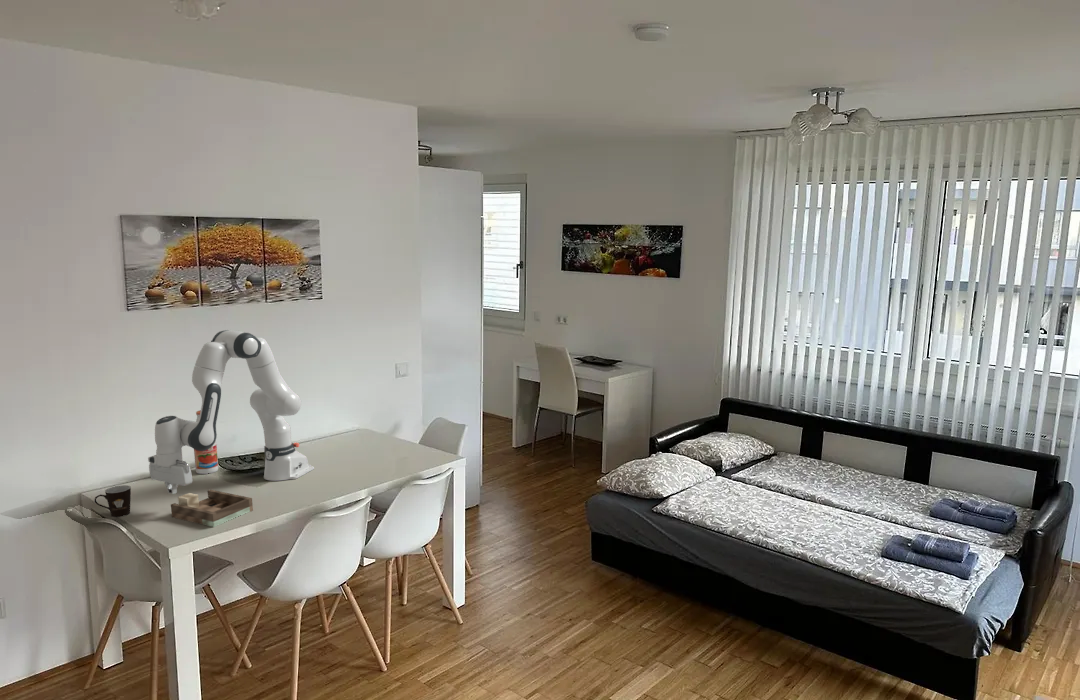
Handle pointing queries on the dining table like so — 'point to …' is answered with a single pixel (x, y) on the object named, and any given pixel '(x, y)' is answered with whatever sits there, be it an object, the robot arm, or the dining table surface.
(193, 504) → the birch block
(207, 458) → the fruit juice
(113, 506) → the coffee mug
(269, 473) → the robot arm
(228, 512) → the box
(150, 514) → the dining table surface
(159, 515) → the dining table surface
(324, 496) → the dining table surface
